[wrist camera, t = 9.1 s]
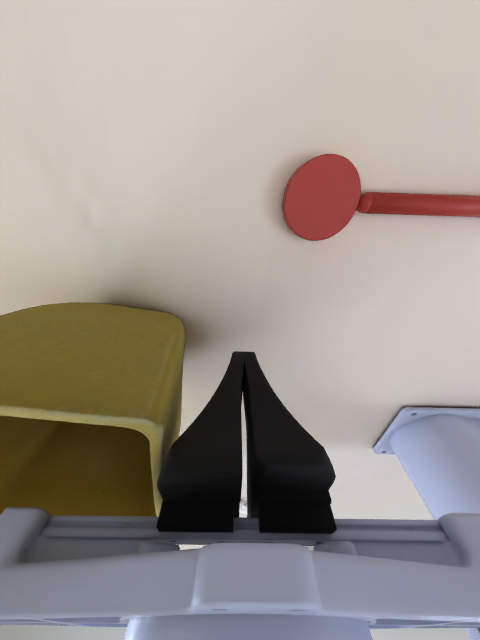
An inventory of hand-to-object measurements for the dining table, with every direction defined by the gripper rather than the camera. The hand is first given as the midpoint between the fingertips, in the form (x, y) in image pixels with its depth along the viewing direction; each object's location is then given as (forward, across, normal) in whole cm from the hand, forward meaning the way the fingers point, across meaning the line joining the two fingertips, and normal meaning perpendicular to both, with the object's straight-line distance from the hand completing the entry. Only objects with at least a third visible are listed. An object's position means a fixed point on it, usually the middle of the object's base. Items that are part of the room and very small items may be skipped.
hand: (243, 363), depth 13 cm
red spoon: (+2, -8, -9) cm, 12 cm away
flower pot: (+3, +7, 0) cm, 8 cm away
